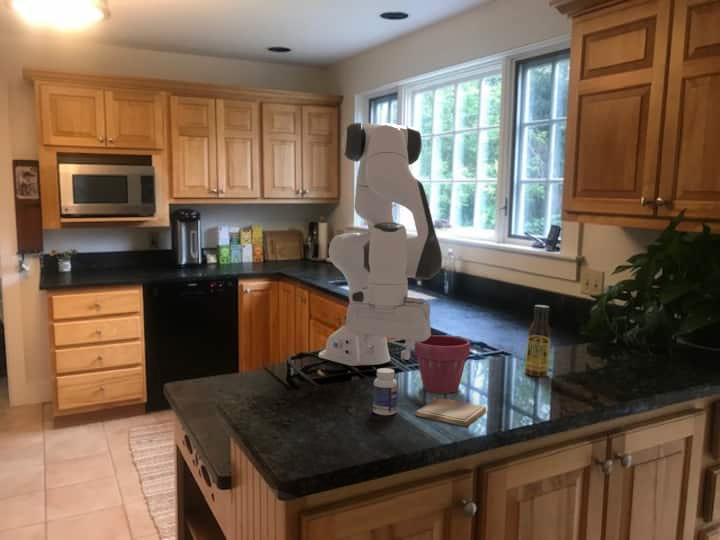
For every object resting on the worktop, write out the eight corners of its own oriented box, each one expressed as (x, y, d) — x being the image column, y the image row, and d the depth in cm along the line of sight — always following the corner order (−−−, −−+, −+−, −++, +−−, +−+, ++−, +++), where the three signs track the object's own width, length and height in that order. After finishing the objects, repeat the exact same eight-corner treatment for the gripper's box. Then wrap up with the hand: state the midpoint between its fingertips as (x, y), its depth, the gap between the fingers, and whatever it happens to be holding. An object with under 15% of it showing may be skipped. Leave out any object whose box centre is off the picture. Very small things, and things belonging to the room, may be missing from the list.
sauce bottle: (523, 376, 169) (526, 306, 167) (526, 370, 175) (529, 303, 173) (547, 379, 167) (551, 308, 165) (549, 373, 173) (553, 305, 170)
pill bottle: (394, 416, 134) (395, 374, 133) (371, 414, 135) (371, 372, 134) (398, 409, 140) (399, 368, 139) (375, 407, 141) (376, 366, 140)
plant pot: (436, 377, 166) (437, 332, 165) (479, 389, 156) (481, 340, 155) (402, 387, 156) (403, 339, 155) (445, 400, 146) (447, 349, 145)
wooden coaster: (416, 415, 136) (416, 410, 135) (438, 401, 146) (438, 396, 146) (466, 426, 129) (466, 421, 129) (485, 411, 139) (486, 406, 139)
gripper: (436, 297, 132) (434, 359, 133) (357, 290, 143) (356, 348, 144) (423, 301, 127) (422, 365, 128) (342, 293, 137) (342, 353, 139)
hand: (387, 356), depth 136 cm, fingers open, 8 cm apart
